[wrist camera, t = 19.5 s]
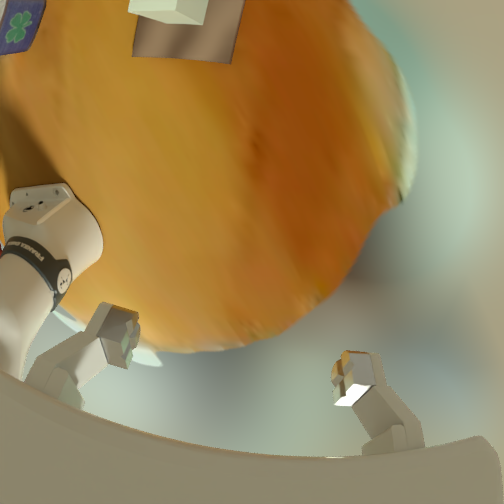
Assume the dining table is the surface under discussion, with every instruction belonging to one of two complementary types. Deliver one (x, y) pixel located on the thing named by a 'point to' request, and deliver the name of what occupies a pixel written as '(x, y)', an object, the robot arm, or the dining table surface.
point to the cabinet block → (171, 10)
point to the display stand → (192, 35)
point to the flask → (19, 24)
